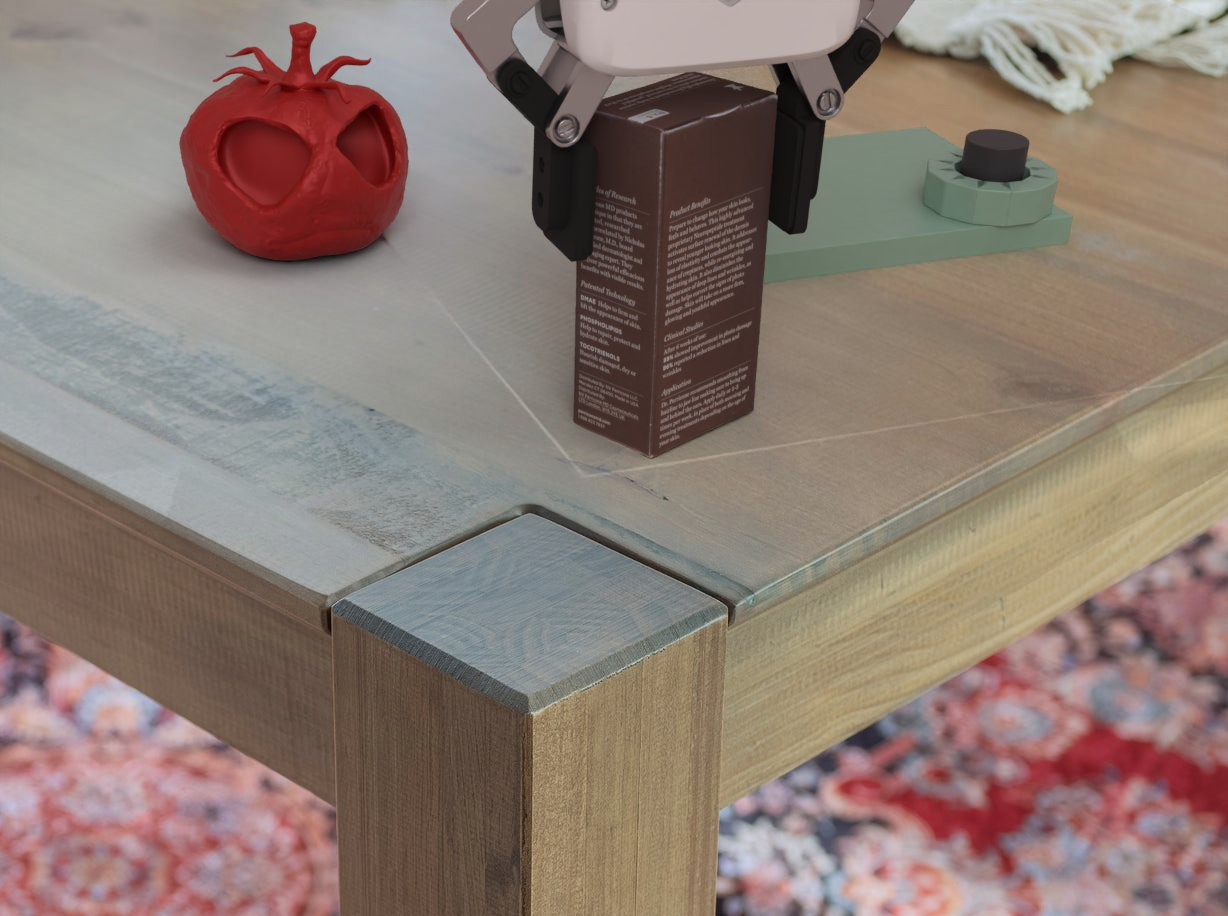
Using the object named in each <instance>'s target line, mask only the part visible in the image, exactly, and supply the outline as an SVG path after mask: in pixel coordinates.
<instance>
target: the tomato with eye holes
mask: <svg viewBox="0 0 1228 916" xmlns="http://www.w3.org/2000/svg"><path fill="white" fill-rule="evenodd" d="M288 29H289V34H290V37H291V55H290V62H289V66H288V68H287V70H286V71H285V70H283V69H282V68H280V67H279V66H278V65H277V64H276V63H275V62H274V61H273V60H271V59H270V58H269V57H268V56H267V55H266V54H265V52H264V51H263V49H261V48H259V47H258V46H246V47H244V48H243V49H241V50H239V51H237V52H236V53H234V54H230V55H227V54H226V55H225V58H237V57H242V56H247V55H251V54H254V56H255V58H256V60H257V61H258V63H259V65H260V67H261V69H260V70H256V69H253V68H250V67H248V66H236V67H234V68H231V69H228V70H227V71H225V72H224V73H222V74H221V75H220V76H218V77H217V78H215V79H212V82H213V83H217V82H219V81H221V80H223V79H224V78H226V77H228V76H230V75H239V74H240V75H239V76H237V77H236V78H235V79H233V80H232V81H230V83H228V84H225V85H223V86H222V87H219V88H218V89H216V90H215V91H213V93H211V94H209V96H207V97H206V98H204V99H203V100H202V101H201V103H200V104H198V106H197V107H196V108H195V109H194V111H193V113H191V115H190V116H189V119H188V121H187V123H186V126H185V127H184V128H183V129H182V131H181V134H180V137H179V141H178V144H179V150H180V151H179V152H180V158H181V162H182V167H183V170H184V173H185V179H186V183H187V186H188V188H189V190H190V195H191V197H192V200H193V201H194V203H195V206H196V208H197V209H198V212H199V213H200V214H201V216H202V217H203V218H204V219H205V221H206V223H207V224H208V225H209V226H210V227H211V228H212V229H214V230H215V231H216V232H217V233H218V235H219V236H220V237H221V238H222V239H224V240H225V241H226V242H228V243H230V244H231V245H233V246H234V247H236V248H237V249H239V250H241V251H243V252H245V253H247V254H249V255H251V256H254V257H259V258H264V259H267V260H268V259H269V260H272V261H273V260H274V261H299V260H309V259H313V258H318V257H319V258H320V257H324V256H325V257H326V256H327V257H328V256H336V255H346V254H347V253H352V252H356V251H359V250H361V249H363V248H366V247H368V246H369V245H371V244H372V243H373V242H375V241H376V240H377V239H378V238H379V237H380V236H381V235H382V234H384V232H385V231H386V230H387V229H388V228H389V227H390V226H391V224H392V223H393V222H394V221H395V219H396V218H397V216H398V215H399V212H400V209H401V207H402V205H403V202H404V198H405V191H406V184H407V178H408V174H409V166H410V165H409V163H410V160H409V146H408V145H409V144H408V140H407V139H408V138H407V136H406V135H407V134H406V132H405V129H404V126H403V124H402V123H403V122H402V120H401V118H400V116H399V113H398V112H397V111H396V109H395V107H394V105H393V104H392V103H390V102H389V101H388V100H387V99H386V98H385V97H384V96H383V95H382V94H381V93H379V92H377V91H376V90H374V89H372V88H370V87H368V86H365V85H360V84H348V83H345V82H342V81H339V80H337V79H333V78H332V77H334V75H335V74H336V73H337V72H338V71H339V70H340V69H342V67H346V66H356V67H357V66H358V67H363V66H368V65H369V64H370V63H371V62H372V57H370V58H369V59H360V58H355V57H353V56H350V55H339V56H337V57H335V58H333V59H331V60H330V61H329V62H327V63H325V64H323V65H322V66H321V67H320V68H319V69H318V71H317V72H316V73H314V69H313V66H312V61H311V49H312V45H313V42H314V40H315V38H316V36H317V26H316V25H315V24H312V23H309V22H307V21H303V22H298V23H293V24H289V25H288Z"/></svg>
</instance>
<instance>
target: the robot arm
mask: <svg viewBox="0 0 1228 916" xmlns="http://www.w3.org/2000/svg"><path fill="white" fill-rule="evenodd" d="M915 1H916V0H462V1H461V2H459V3H458V5H456V6H455V8H453V10H452V11H451V14H450V19H449V20H450V26H451V29H452V31H453V32H454V34H455V35H456V36H457V37H458V40H460V42H461V43H462V44H463V46H464V48H465V49H466V50H467V51H468V53H469V54H470V56H471V57H472V58H473V60H474V61H475V63H476V65H478V66H479V68H480V69H481V70H482V72H483V73H484V74H485V76H486V79H487V80H488V82H489V83H490V84H491V85H492V86H493V87H494V88H495V89H496V90H497V91H498V92H499V93H500V94H501V95H502V96H503V98H505V99H506V100H507V101H508V102H509V103H510V104H511V105H512V106H513V107H514V108H515V109H516V110H517V111H518V112H519V113H520V114H521V115H522V116H523V118H524V119H525V120H527V121H528V122H529V123H530V124H531V125H532V126H533V147H532V149H533V151H532V152H533V153H532V179H531V180H532V182H531V185H532V187H531V214H532V219H533V221H534V223H535V225H536V227H537V228H538V229H539V230H540V231H541V232H542V234H543V236H544V237H545V238H546V239H547V240H548V241H549V242H550V243H551V244H552V245H553V246H554V247H555V248H556V249H557V250H558V251H559V252H560V253H561V254H562V255H564V257H565V258H566V259H567V260H568V261H570V262H572V263H573V262H576V261H581V260H587V258H588V256H589V255H592V252H593V236H594V217H595V198H596V179H597V160H598V155H597V150H596V147H595V146H594V145H592V144H591V143H590V142H589V141H588V140H586V139H585V129H586V127H587V125H588V124H589V122H590V120H591V118H592V117H593V115H594V113H595V111H596V110H597V108H598V106H599V104H600V103H601V101H602V99H604V98H605V96H606V93H608V90H609V88H610V87H611V85H612V83H613V82H614V79H615V78H616V77H621V78H630V77H631V78H635V77H636V78H637V77H649V76H663V75H674V74H683V73H686V72H707V71H717V70H727V69H729V70H730V69H737V68H749V67H758V66H767V68H768V70H769V72H770V74H771V76H772V79H773V81H774V84H775V86H776V87H775V94H776V95H777V96H778V101H777V115H776V125H775V140H774V153H773V165H772V177H771V191H770V203H769V217H768V220H769V221H771V222H772V223H773V224H775V225H776V226H777V227H778V228H780V229H781V230H782V231H784V232H786V233H787V234H789V235H793V234H801V233H804V232H805V231H806V229H807V224H808V216H809V207H810V200H812V199H814V197H815V196H816V193H817V189H818V182H819V174H820V165H821V157H822V149H823V141H824V138H825V133H826V132H825V131H826V124H827V123H826V122H827V121H828V120H831V119H835V117H837V115H839V114H840V112H841V111H842V109H843V107H844V104H845V95H846V93H847V92H848V91H849V90H850V89H851V88H852V86H854V84H855V83H856V82H857V81H858V80H859V79H860V78H861V76H863V74H865V72H866V71H868V69H869V68H870V67H871V66H872V65H873V64H874V63H875V62H876V60H877V59H878V58H879V55H880V53H881V51H882V50H881V49H882V42H883V41H884V40H885V39H889V37H890V36H891V34H892V33H893V31H894V30H895V29H896V28H897V26H898V24H899V23H900V22H901V21H902V19H903V18H904V17H905V15H906V14H907V12H908V11H909V10H910V9H911V7H912V5H913V4H914V3H915ZM532 9H534V15H535V21H536V23H537V26H538V28H539V31H541V32H542V33H543V34H544V35H545V36H547V37H549V38H551V39H553V42H552V44H551V46H550V47H549V49H548V50H547V53H546V55H545V56H544V58H543V60H542V62H541V64H540V65H539V68H538V69H537V71H536V70H535V69H534V68H533V66H531V65H530V64H529V62H527V60H526V59H525V57H524V56H523V55H522V52H521V51H520V50H519V47H518V46H517V45H516V43H515V41H514V38H513V31H514V27H515V25H516V24H517V23H518V21H519V20H521V18H523V17H524V16H525V15H527V13H528V12H530V11H531V10H532Z"/></svg>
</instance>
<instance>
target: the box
mask: <svg viewBox="0 0 1228 916" xmlns="http://www.w3.org/2000/svg"><path fill="white" fill-rule="evenodd" d="M777 101H778V96H777V95H776V92H774V91H772V90H768V89H763V88H760V87H756V86H752V85H747V84H744V83H742V82H737V81H733V80H730V79H727V78H723V77H718V76H715V75H712V74H707V73H703V72H701V71H697V72H686V73H679V74H677V75H674V76H671V77H668V78H665V79H662V80H659V81H656V82H653V83H650V84H647V85H644V86H639V87H636V88H633V89H629V90H627V91H624V92H621V93H617V94H615V95H611V96H608V97H603V99H602V101H601V103H600V104H599V106H598V108H597V110H596V111H595V113H594V115H593V117H592V118H591V120H590V122H589V124H588V125H587V127H586V129H585V139H586V140H588V141H589V142H590V143H591V144H592V145H594V146H595V147H596V150H597V155H598V160H597V179H596V198H595V217H594V236H593V252H592V255H589V256H588V258H587V260H581V261H575V274H576V277H575V309H574V311H575V312H574V315H575V317H574V361H573V363H574V364H573V365H574V366H573V367H574V368H573V369H574V371H573V374H574V375H573V376H574V377H573V378H574V379H573V390H574V391H573V422H574V424H576V425H577V426H579V427H581V428H583V429H585V430H587V431H589V432H591V433H593V434H595V435H598V436H600V437H602V438H604V439H607V440H608V441H610V442H613V443H615V444H617V445H619V446H621V447H624V448H625V449H628V450H630V451H633V452H634V453H636V454H639V455H641V456H645V457H647V458H649V459H653V458H655V457H657V456H659V455H661V454H663V453H665V452H667V451H669V450H671V449H673V448H675V447H678V446H681V445H682V444H683V443H686V442H688V441H690V440H692V439H695V438H697V437H699V436H702V434H705V433H707V432H709V431H712V430H714V429H716V428H717V427H720V426H722V425H725V424H726V423H728V422H731V421H733V420H735V419H737V418H740V417H741V416H744V415H747V414H749V413H751V412H753V411H754V410H755V398H756V383H757V372H758V361H759V359H758V358H759V345H760V335H761V334H760V333H761V321H762V307H763V305H762V304H763V294H764V293H763V292H764V284H763V280H764V270H765V256H766V244H767V230H768V217H769V203H770V191H771V177H772V165H773V153H774V140H775V125H776V115H777Z"/></svg>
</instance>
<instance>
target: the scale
mask: <svg viewBox="0 0 1228 916" xmlns="http://www.w3.org/2000/svg"><path fill="white" fill-rule="evenodd" d="M963 151H964V148H961V147H960V146H958V145H956V144H954V143H953V142H952V141H950V140H948V139H947V138H945V137H943V136H942V135H940V134H938V133H937V132H935V131H933V130H932V129H930V128H928V127H926V126H921V127H912V128H911V127H910V128H902V129H893V130H884V131H876V132H875V131H874V132H866V133H856V134H847V135H838V136H828V137H824V141H823V149H822V157H821V165H820V174H819V182H818V189H817V193H816V196H815V197H814V199H812V200H810V207H809V216H808V224H807V229H806V231H805V232H804V233H801V234H793V235H789V234H787V233H786V232H784V231H782V230H781V229H780V228H778V227H777V226H776V225H775V224H773V223H772V222H771V221H769V220H768V230H767V244H766V256H765V270H764V280H763V285H764V284H771V283H780V282H786V281H787V282H788V281H794V280H801V279H807V278H808V279H810V278H817V277H825V276H831V275H833V276H834V275H837V274H838V275H839V274H848V273H855V272H863V271H869V270H871V271H872V270H879V269H884V268H893V267H900V266H909V265H916V264H923V263H931V262H939V261H946V260H953V259H954V260H955V259H961V258H970V257H978V256H983V255H984V256H985V255H992V254H999V253H1008V252H1015V251H1023V250H1031V249H1039V248H1045V247H1054V246H1060V245H1068V244H1069V239H1070V235H1071V234H1070V233H1071V229H1072V225H1073V219H1074V215H1073V214H1072V213H1069V212H1068V211H1066V210H1064V209H1063V208H1061V207H1059V206H1058V205H1056V204H1055V202H1054V201H1055V198H1056V193H1057V186H1058V182H1059V178H1058V173H1057V169H1056V168H1055V167H1054V166H1052V165H1050V164H1048V163H1047V162H1045V161H1043V160H1042V159H1041V158H1038V157H1035V156H1032V155H1029V154H1027V160H1026V165H1025V171H1024V176H1023V180H1022V181H1016V182H1007V183H1001V182H987V181H981V180H977V179H973V178H970V177H966V176H963V175H962V174H960V169H961V163H962V157H963Z"/></svg>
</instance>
